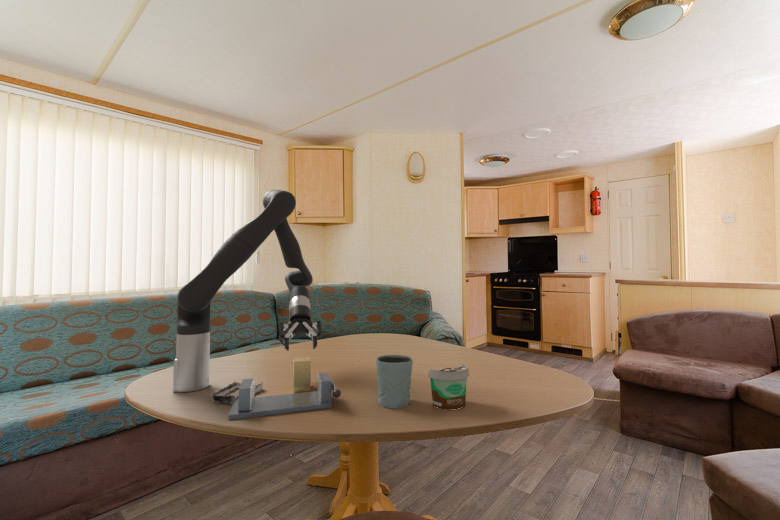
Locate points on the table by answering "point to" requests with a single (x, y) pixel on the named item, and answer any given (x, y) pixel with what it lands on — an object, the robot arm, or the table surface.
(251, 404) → the sliding jaw
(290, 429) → the table surface
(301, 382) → the brass block
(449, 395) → the food container
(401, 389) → the blue embossed cup
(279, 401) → the vise base
